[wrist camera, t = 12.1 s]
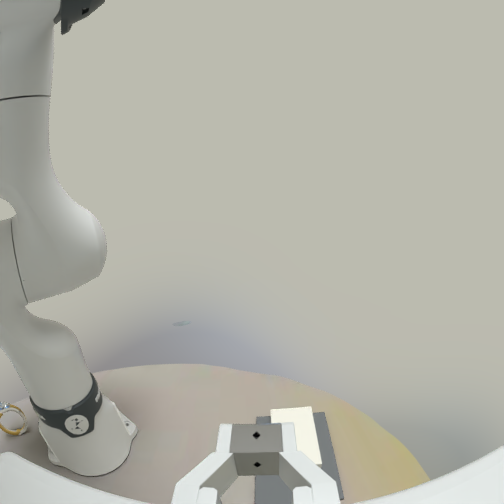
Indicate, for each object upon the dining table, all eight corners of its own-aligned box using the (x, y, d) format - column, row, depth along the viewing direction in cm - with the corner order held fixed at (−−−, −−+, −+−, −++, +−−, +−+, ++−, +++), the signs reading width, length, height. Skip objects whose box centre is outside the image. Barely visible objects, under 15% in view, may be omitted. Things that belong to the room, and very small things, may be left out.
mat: (343, 499, 27) (344, 498, 27) (255, 507, 27) (254, 506, 27) (324, 413, 45) (324, 411, 45) (256, 418, 46) (256, 416, 45)
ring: (32, 425, 36) (14, 395, 34) (34, 435, 34) (15, 405, 32) (7, 432, 32) (-12, 402, 30) (8, 442, 30) (-13, 412, 28)
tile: (322, 463, 32) (311, 406, 45) (272, 468, 32) (270, 409, 45) (320, 469, 33) (310, 413, 45) (272, 473, 33) (270, 416, 45)
